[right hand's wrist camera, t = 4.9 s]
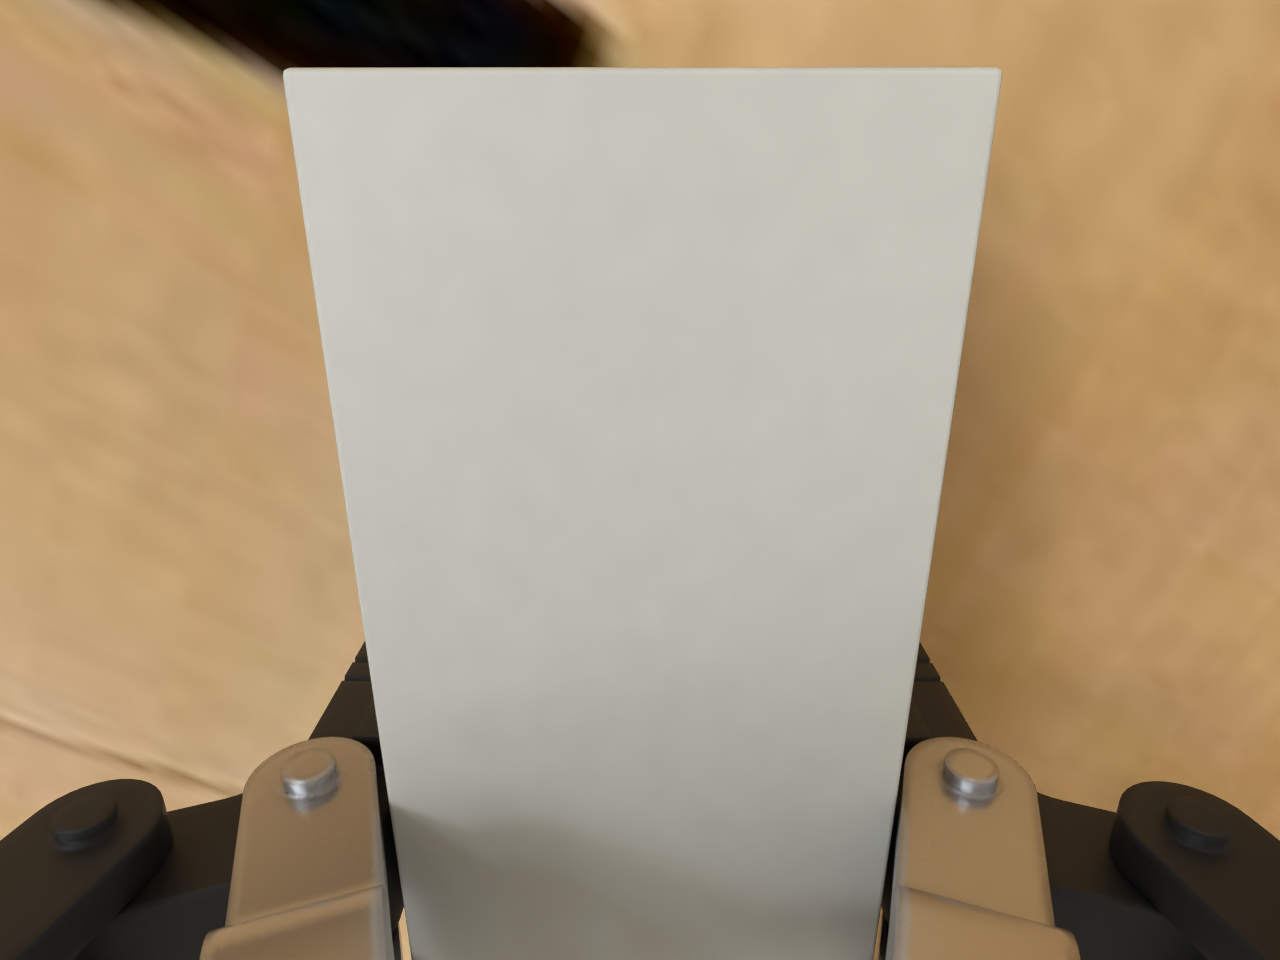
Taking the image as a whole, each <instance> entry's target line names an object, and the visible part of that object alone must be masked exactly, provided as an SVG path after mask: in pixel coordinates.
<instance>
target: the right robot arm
mask: <svg viewBox="0 0 1280 960" xmlns="http://www.w3.org/2000/svg"><path fill="white" fill-rule="evenodd" d="M403 907H404V902H403V896H402V889H401V882H400V875H399V868H398V861H397V854H396V848H395V841H394V834H393V827H392V820H391V813H390V806H389V800H388V793H387V786H386V779H385V772H384V765H383V758H382V752H381V745H380V738H379V731H378V724H377V717H376V710H375V704H374V697H373V690H372V683H371V676H370V669H369V662H368V656H367V649H366V642H364V644H363V645H362V647H361V649H360V651H359V652H358V654H357V656H356V658H355V662H353V663H352V665H351V666H350V668H349V670H348V672H347V673H346V675H345V681H342V682H341V684H340V686H339V687H338V689H337V691H336V692H335V694H334V696H333V698H332V699H331V701H330V703H329V705H328V706H327V708H326V710H325V712H324V713H323V715H322V717H321V719H320V720H319V722H318V724H317V726H316V727H315V729H314V731H313V732H312V734H311V736H310V738H309V739H308V740H306V741H303V742H299V743H297V744H294V745H291V746H289V747H287V748H285V749H283V750H280V751H279V752H277V753H275V754H274V755H272V756H271V757H269V758H268V759H267V760H265V761H264V762H263V763H261V764H260V765H259V766H258V767H257V768H256V769H255V770H254V772H253V773H252V774H251V776H250V777H249V779H248V781H247V783H246V784H245V788H244V791H243V793H242V794H239V795H237V796H233V797H230V798H226V799H222V800H218V801H213V802H209V803H205V804H200V805H196V806H191V807H187V808H183V809H178V810H174V811H169V812H167V811H166V807H165V803H164V800H163V797H162V794H161V792H160V791H159V790H158V789H157V787H156V786H154V785H152V784H150V783H148V782H145V781H142V780H135V779H117V780H109V781H104V782H100V783H95V784H92V785H89V786H86V787H83V788H80V789H78V790H75V791H73V792H70V793H68V794H66V795H64V796H62V797H60V798H58V799H56V800H55V801H53V802H51V803H50V804H48V805H46V806H45V807H43V808H42V809H41V810H39V811H38V812H36V813H35V814H34V815H32V816H31V817H30V818H29V819H27V820H26V821H25V822H24V823H22V824H21V825H20V826H18V827H17V828H16V829H15V830H13V831H12V832H11V833H10V834H8V835H7V836H6V837H5V838H3V839H2V840H1V841H0V960H403V953H402V942H401V934H400V927H399V920H400V917H401V914H402V911H403ZM881 907H882V910H883V914H882V921H881V927H880V934H879V943H878V953H877V960H1280V841H1279V840H1278V839H1277V838H1275V837H1274V836H1273V835H1272V834H1270V833H1269V832H1268V831H1267V830H1265V829H1264V828H1263V827H1262V826H1260V825H1259V824H1258V823H1256V822H1255V821H1254V820H1253V819H1251V818H1250V817H1249V816H1247V815H1246V814H1245V813H1243V812H1242V811H1241V810H1239V809H1238V808H1236V807H1234V806H1233V805H1231V804H1229V803H1228V802H1226V801H1224V800H1222V799H1220V798H1218V797H1216V796H1214V795H1212V794H1209V793H1207V792H1204V791H1202V790H1199V789H1196V788H1193V787H1189V786H1186V785H1181V784H1177V783H1171V782H1162V781H1151V782H1143V783H1139V784H1136V785H1133V786H1131V787H1130V788H1128V789H1127V790H1126V791H1125V792H1124V793H1123V794H1122V796H1121V799H1120V801H1119V805H1118V809H1117V812H1116V813H1115V812H1111V811H1106V810H1102V809H1097V808H1093V807H1089V806H1084V805H1080V804H1075V803H1071V802H1067V801H1063V800H1059V799H1055V798H1052V797H1049V796H1046V795H1043V794H1040V793H1038V792H1037V791H1036V787H1035V784H1034V782H1033V781H1032V779H1031V777H1030V776H1029V774H1028V773H1027V772H1026V770H1025V769H1024V768H1023V767H1022V766H1021V765H1020V764H1019V763H1017V762H1016V761H1015V760H1013V759H1012V758H1011V757H1010V756H1008V755H1006V754H1005V753H1003V752H1001V751H1000V750H997V749H995V748H993V747H991V746H989V745H986V744H983V743H981V742H978V741H977V739H976V738H975V736H974V734H973V732H972V731H971V729H970V727H969V726H968V724H967V722H966V720H965V719H964V717H963V715H962V714H961V712H960V710H959V708H958V707H957V705H956V703H955V702H954V700H953V698H952V696H951V695H950V693H949V691H948V690H947V688H946V686H945V684H944V683H943V682H941V681H940V676H939V674H938V672H937V671H936V669H935V667H934V666H933V664H932V663H930V659H929V657H928V655H927V654H926V652H925V650H924V648H923V647H922V645H921V643H920V642H919V648H918V655H917V662H916V669H915V676H914V683H913V690H912V696H911V703H910V710H909V717H908V724H907V731H906V738H905V744H904V751H903V758H902V765H901V772H900V779H899V786H898V792H897V799H896V806H895V813H894V820H893V827H892V834H891V840H890V847H889V854H888V861H887V868H886V875H885V882H884V888H883V895H882V902H881Z"/></svg>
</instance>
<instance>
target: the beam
mask: <svg viewBox="0 0 1280 960" xmlns="http://www.w3.org/2000/svg"><path fill="white" fill-rule="evenodd" d="M1001 79H1002V71H1001V69H999V68H997V67H562V68H288V69H286V70H284V73H283V80H284V87H285V94H286V100H287V107H288V114H289V121H290V128H291V135H292V142H293V148H294V155H295V162H296V169H297V176H298V183H299V189H300V196H301V203H302V210H303V217H304V224H305V231H306V237H307V244H308V251H309V258H310V265H311V272H312V279H313V285H314V292H315V299H316V306H317V313H318V320H319V327H320V333H321V340H322V347H323V354H324V361H325V368H326V375H327V381H328V388H329V395H330V402H331V409H332V416H333V423H334V429H335V436H336V443H337V450H338V457H339V464H340V471H341V477H342V484H343V491H344V498H345V505H346V512H347V519H348V525H349V532H350V539H351V546H352V553H353V560H354V566H355V573H356V580H357V587H358V594H359V601H360V608H361V614H362V621H363V628H364V635H365V642H366V649H367V656H368V662H369V669H370V676H371V683H372V690H373V697H374V704H375V710H376V717H377V724H378V731H379V738H380V745H381V752H382V758H383V765H384V772H385V779H386V786H387V793H388V800H389V806H390V813H391V820H392V827H393V834H394V841H395V848H396V854H397V861H398V868H399V875H400V882H401V889H402V896H403V902H404V909H405V916H406V923H407V930H408V937H409V944H410V950H411V957H412V960H873V957H874V950H875V943H876V936H877V930H878V923H879V916H880V909H881V902H882V895H883V888H884V882H885V875H886V868H887V861H888V854H889V847H890V840H891V834H892V827H893V820H894V813H895V806H896V799H897V792H898V786H899V779H900V772H901V765H902V758H903V751H904V744H905V738H906V731H907V724H908V717H909V710H910V703H911V696H912V690H913V683H914V676H915V669H916V662H917V655H918V648H919V642H920V635H921V628H922V621H923V614H924V607H925V600H926V594H927V587H928V580H929V573H930V566H931V559H932V552H933V546H934V539H935V532H936V525H937V518H938V511H939V504H940V498H941V491H942V484H943V477H944V470H945V463H946V456H947V450H948V443H949V436H950V429H951V422H952V415H953V408H954V402H955V395H956V388H957V381H958V374H959V367H960V360H961V354H962V347H963V340H964V333H965V326H966V319H967V312H968V306H969V299H970V292H971V285H972V278H973V271H974V264H975V258H976V251H977V244H978V237H979V230H980V223H981V216H982V210H983V203H984V196H985V189H986V182H987V175H988V168H989V161H990V155H991V148H992V141H993V134H994V127H995V120H996V113H997V107H998V100H999V93H1000V86H1001Z"/></svg>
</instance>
